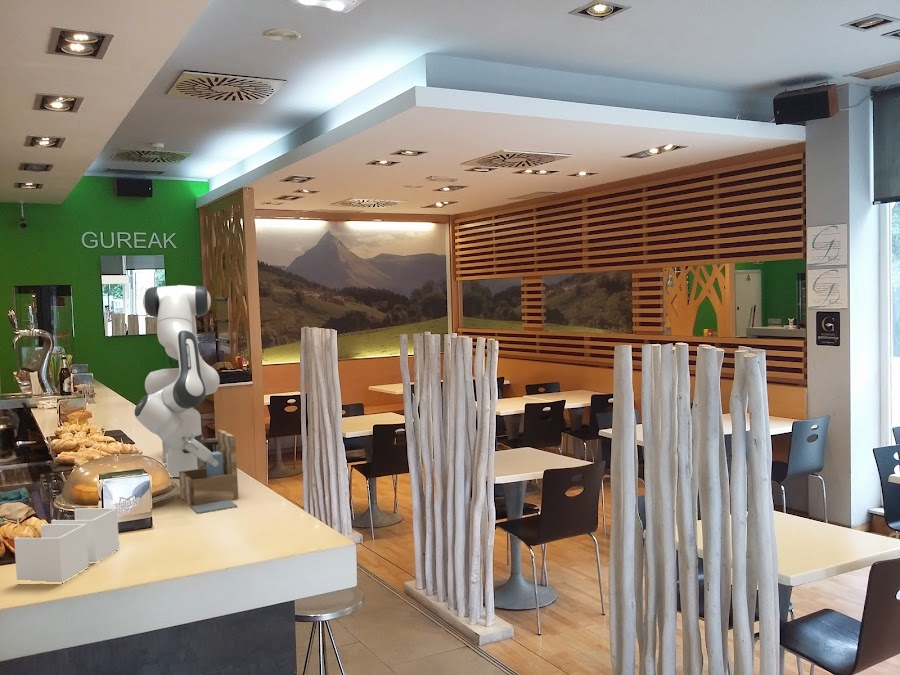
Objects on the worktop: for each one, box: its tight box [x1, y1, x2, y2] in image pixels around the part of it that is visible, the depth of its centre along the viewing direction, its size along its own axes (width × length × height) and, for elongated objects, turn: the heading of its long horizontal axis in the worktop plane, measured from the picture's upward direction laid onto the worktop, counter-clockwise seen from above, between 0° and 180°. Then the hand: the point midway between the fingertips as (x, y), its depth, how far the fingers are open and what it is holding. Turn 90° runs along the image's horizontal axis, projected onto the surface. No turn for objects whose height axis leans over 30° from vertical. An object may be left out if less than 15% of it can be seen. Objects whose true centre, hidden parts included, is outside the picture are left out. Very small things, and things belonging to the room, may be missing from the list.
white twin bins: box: [13, 507, 120, 582], centre depth 197 cm, size 25×11×11 cm, turn 173°
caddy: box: [178, 429, 239, 507], centre depth 259 cm, size 16×14×20 cm
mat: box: [190, 500, 238, 515], centre depth 247 cm, size 9×12×1 cm
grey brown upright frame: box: [197, 437, 219, 469], centre depth 274 cm, size 9×6×16 cm
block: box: [206, 451, 223, 478], centre depth 260 cm, size 5×4×10 cm
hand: (213, 462), depth 260 cm, fingers open, 8 cm apart
